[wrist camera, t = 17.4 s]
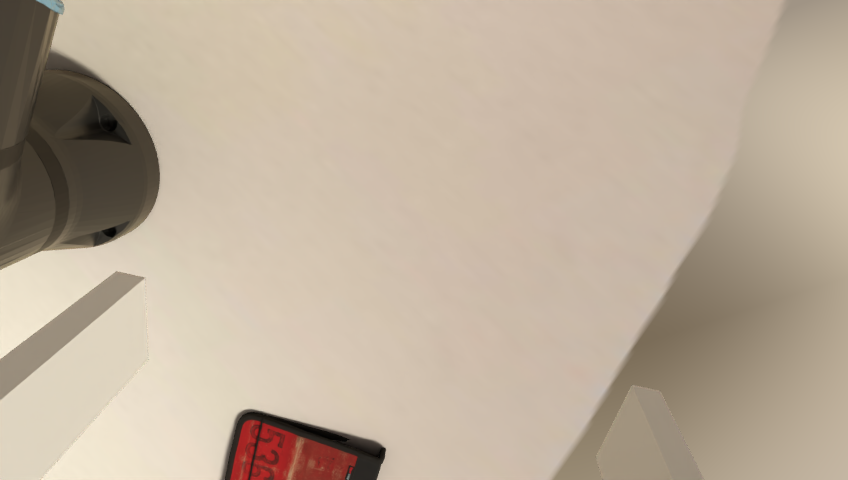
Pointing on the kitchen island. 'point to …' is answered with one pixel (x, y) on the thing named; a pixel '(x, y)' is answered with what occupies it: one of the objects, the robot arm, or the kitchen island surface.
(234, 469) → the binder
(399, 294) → the kitchen island surface
